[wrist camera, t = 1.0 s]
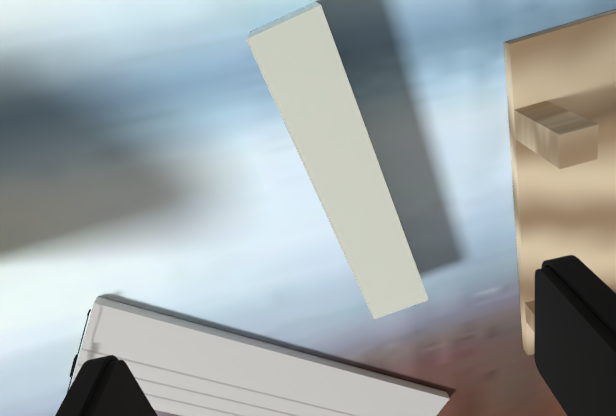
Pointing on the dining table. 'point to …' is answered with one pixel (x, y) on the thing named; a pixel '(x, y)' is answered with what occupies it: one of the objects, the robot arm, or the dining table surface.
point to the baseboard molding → (240, 371)
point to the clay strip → (338, 154)
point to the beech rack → (563, 151)
